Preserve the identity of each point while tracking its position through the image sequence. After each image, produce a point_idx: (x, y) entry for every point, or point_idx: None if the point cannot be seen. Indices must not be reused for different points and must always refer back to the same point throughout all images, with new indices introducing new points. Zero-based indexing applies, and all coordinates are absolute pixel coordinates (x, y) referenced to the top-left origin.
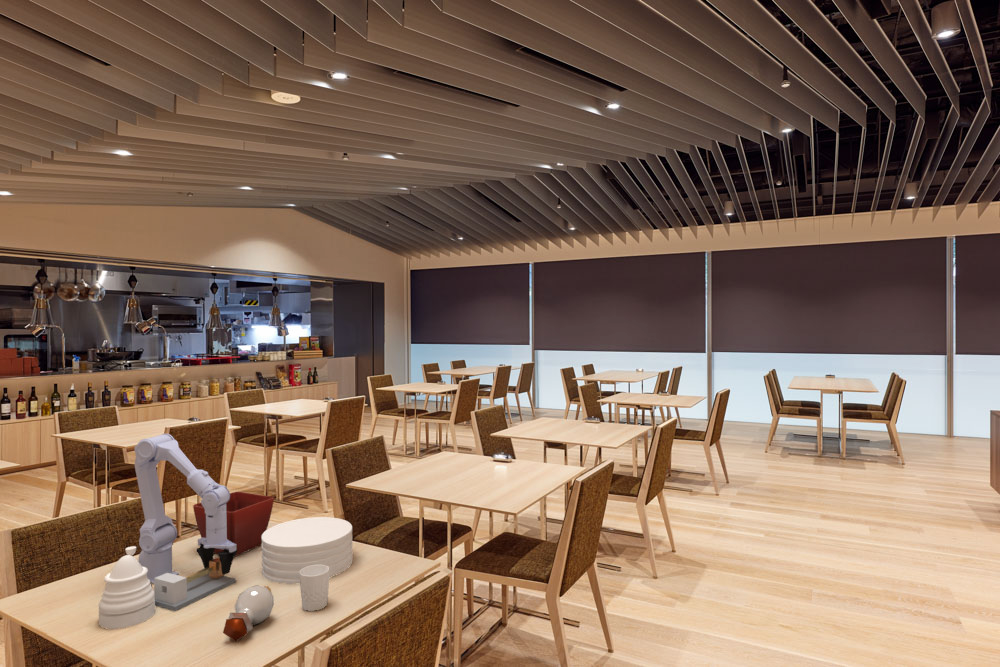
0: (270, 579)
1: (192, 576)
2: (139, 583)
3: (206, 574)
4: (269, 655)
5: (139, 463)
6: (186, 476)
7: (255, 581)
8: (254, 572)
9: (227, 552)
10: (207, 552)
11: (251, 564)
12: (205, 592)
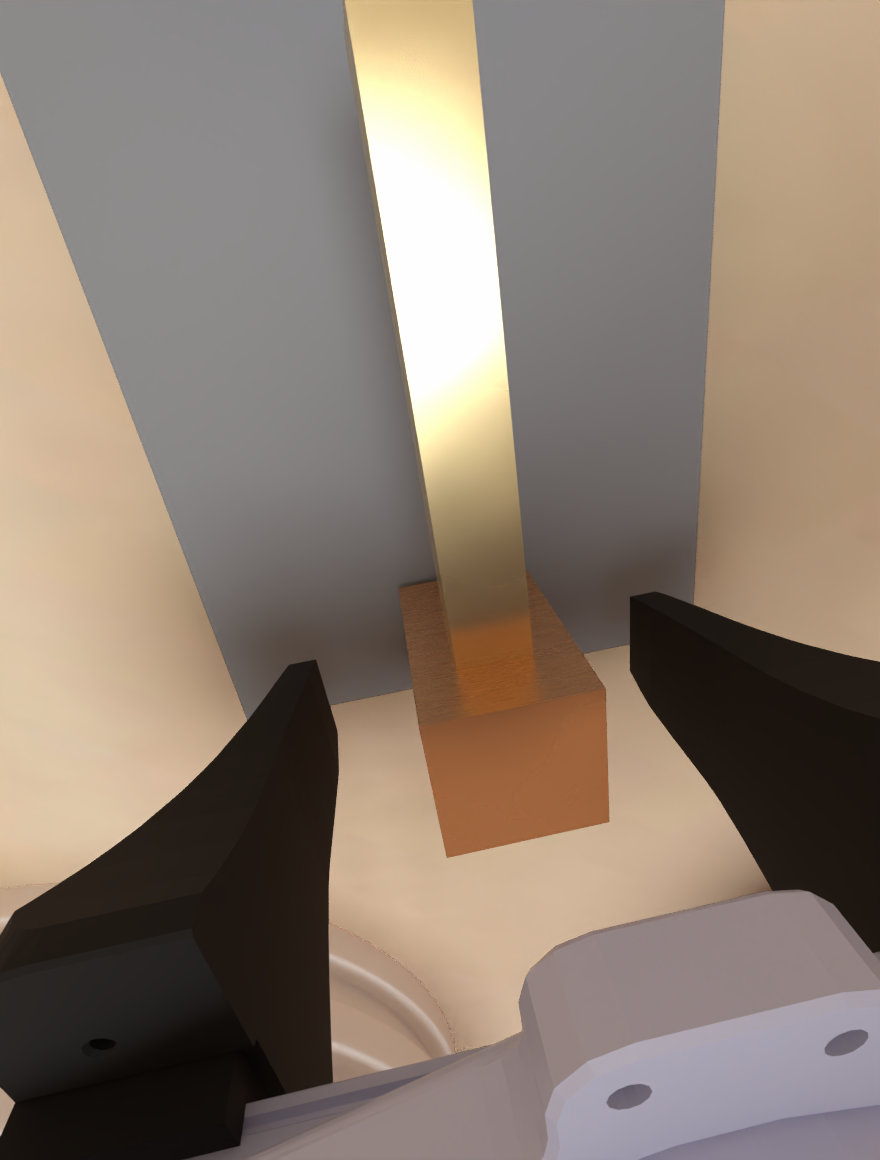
0: (14, 897)
1: (374, 166)
2: None
3: (647, 591)
4: None
5: None
6: None
7: (116, 808)
8: (339, 874)
9: (43, 1088)
10: (807, 805)
11: (522, 914)
12: (78, 265)
